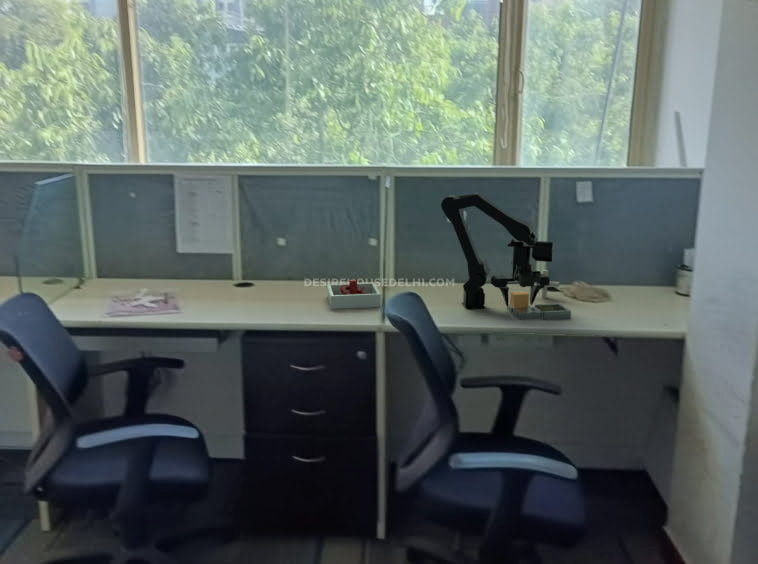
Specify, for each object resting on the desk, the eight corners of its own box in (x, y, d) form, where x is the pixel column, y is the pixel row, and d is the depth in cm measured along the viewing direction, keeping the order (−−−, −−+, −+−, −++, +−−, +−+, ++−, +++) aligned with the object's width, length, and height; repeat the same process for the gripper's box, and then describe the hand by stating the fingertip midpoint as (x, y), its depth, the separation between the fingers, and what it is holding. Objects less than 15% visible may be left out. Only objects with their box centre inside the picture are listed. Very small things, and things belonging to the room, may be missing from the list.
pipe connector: (558, 302, 257) (560, 274, 254) (529, 300, 259) (531, 273, 256) (557, 294, 266) (559, 267, 264) (529, 293, 268) (531, 266, 266)
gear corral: (331, 308, 249) (330, 296, 248) (327, 296, 265) (327, 284, 263) (380, 306, 252) (380, 294, 250) (374, 294, 267) (374, 282, 266)
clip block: (513, 307, 245) (514, 294, 243) (510, 304, 248) (510, 291, 247) (528, 307, 245) (528, 294, 244) (524, 304, 249) (525, 291, 248)
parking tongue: (511, 312, 244) (511, 308, 244) (506, 308, 249) (506, 304, 249) (531, 311, 245) (531, 307, 245) (526, 307, 250) (526, 303, 250)
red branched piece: (369, 307, 252) (369, 283, 250) (336, 304, 254) (335, 281, 252) (377, 298, 262) (377, 276, 260) (345, 296, 265) (344, 274, 262)
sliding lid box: (520, 320, 236) (520, 313, 235) (511, 312, 244) (511, 305, 244) (570, 318, 238) (571, 311, 237) (560, 310, 247) (560, 303, 246)
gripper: (501, 266, 234) (499, 313, 238) (557, 264, 237) (554, 310, 240) (491, 258, 245) (489, 304, 248) (544, 257, 247) (542, 301, 251)
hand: (519, 305), depth 247 cm, fingers open, 8 cm apart
